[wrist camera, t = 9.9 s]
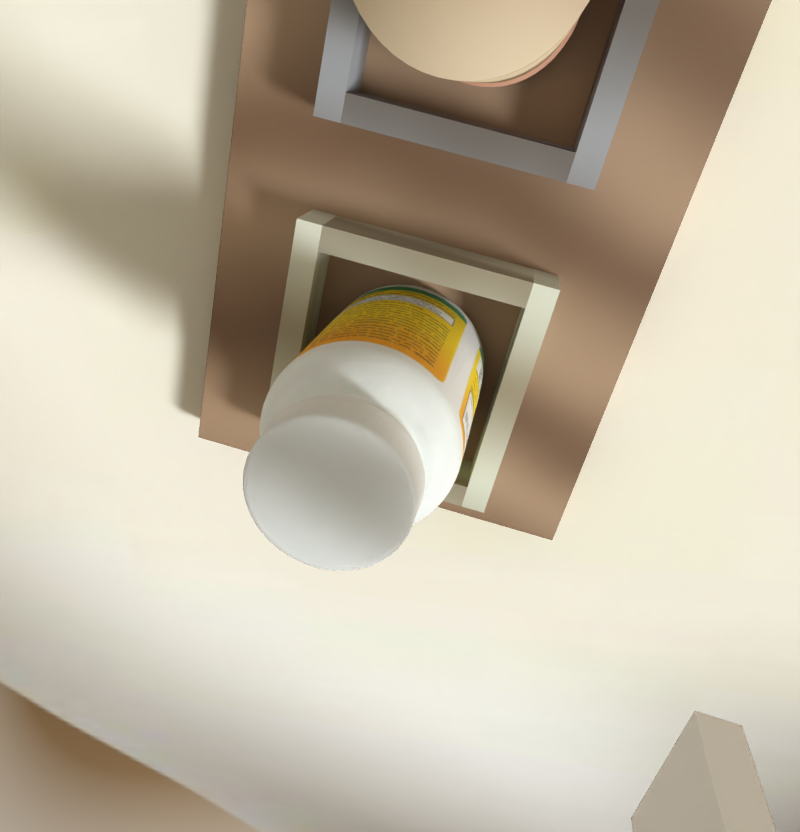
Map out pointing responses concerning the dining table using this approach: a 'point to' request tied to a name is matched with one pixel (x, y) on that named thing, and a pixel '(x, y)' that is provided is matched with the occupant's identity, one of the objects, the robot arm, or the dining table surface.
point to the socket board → (468, 215)
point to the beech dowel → (473, 35)
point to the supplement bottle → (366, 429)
